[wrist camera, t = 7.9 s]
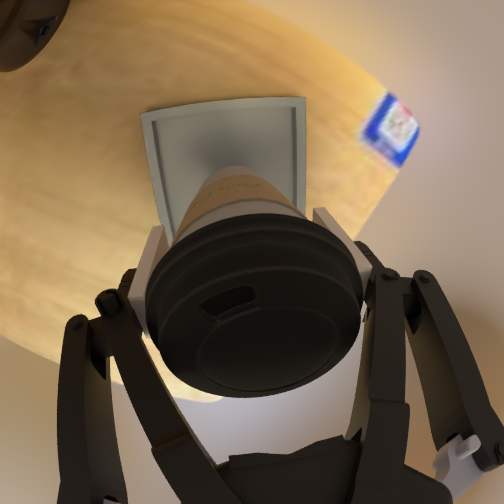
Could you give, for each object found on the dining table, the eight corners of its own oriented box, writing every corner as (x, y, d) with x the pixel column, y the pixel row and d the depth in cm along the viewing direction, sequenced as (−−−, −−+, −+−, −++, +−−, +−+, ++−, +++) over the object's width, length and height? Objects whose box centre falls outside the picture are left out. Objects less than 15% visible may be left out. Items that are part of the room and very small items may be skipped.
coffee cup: (221, 121, 19) (235, 176, 6) (311, 188, 23) (414, 312, 10) (157, 215, 22) (107, 368, 10) (245, 265, 26) (274, 415, 14)
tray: (146, 112, 24) (140, 113, 22) (298, 96, 25) (305, 97, 23) (170, 242, 33) (168, 253, 31) (298, 227, 34) (304, 237, 32)
